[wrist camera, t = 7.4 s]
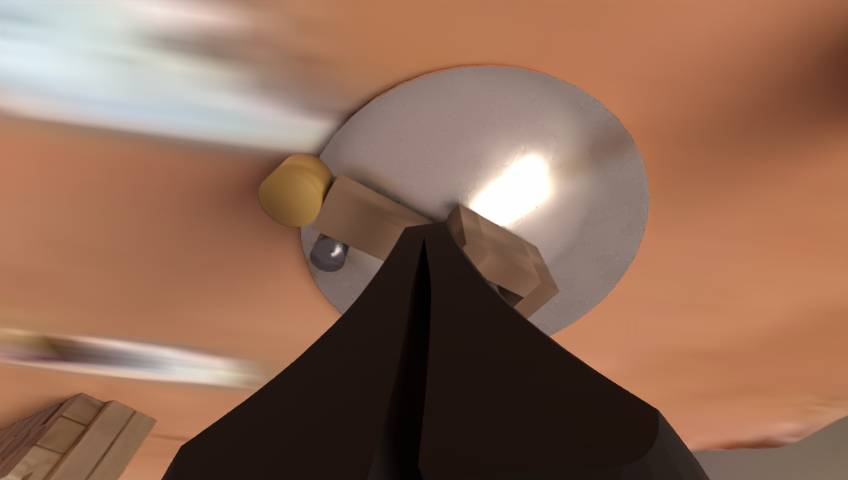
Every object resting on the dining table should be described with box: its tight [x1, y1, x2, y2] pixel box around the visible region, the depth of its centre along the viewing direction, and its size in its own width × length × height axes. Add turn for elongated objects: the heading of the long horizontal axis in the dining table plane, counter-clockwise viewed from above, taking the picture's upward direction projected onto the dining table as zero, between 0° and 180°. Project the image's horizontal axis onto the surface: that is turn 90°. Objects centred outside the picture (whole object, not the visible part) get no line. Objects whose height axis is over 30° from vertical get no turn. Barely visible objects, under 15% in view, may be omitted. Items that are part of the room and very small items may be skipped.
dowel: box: [310, 233, 350, 272], centre depth 18 cm, size 2×2×4 cm
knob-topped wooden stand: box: [258, 153, 560, 319], centre depth 17 cm, size 15×6×4 cm, turn 59°
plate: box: [300, 64, 649, 336], centre depth 21 cm, size 22×22×1 cm
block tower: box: [0, 393, 157, 480], centre depth 35 cm, size 8×8×29 cm
